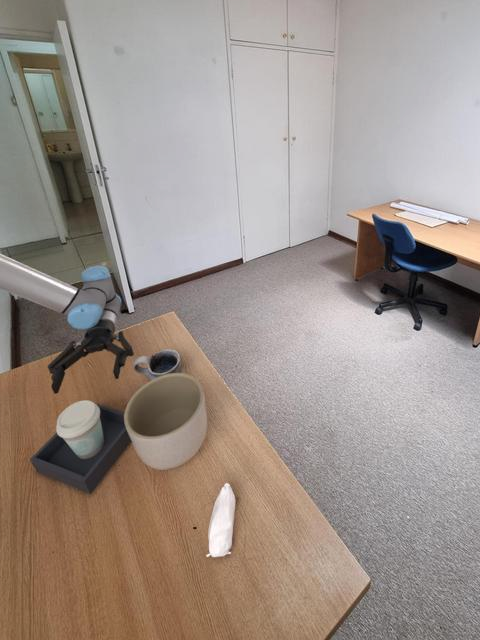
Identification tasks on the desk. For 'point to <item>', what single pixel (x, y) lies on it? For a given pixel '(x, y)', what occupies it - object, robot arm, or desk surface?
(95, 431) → the coffee cup
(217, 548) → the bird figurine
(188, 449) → the planter
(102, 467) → the bin
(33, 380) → the desk surface
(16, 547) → the desk surface
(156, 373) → the mug
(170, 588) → the desk surface
